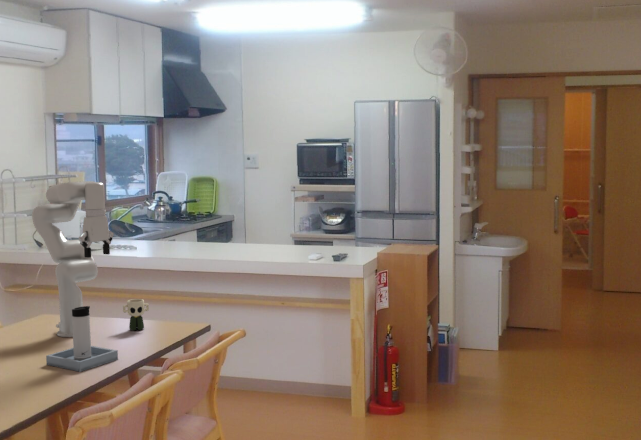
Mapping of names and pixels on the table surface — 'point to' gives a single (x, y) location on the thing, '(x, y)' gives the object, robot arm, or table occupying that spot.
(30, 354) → the table surface
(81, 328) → the travel mug
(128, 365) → the table surface
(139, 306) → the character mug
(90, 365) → the tray
